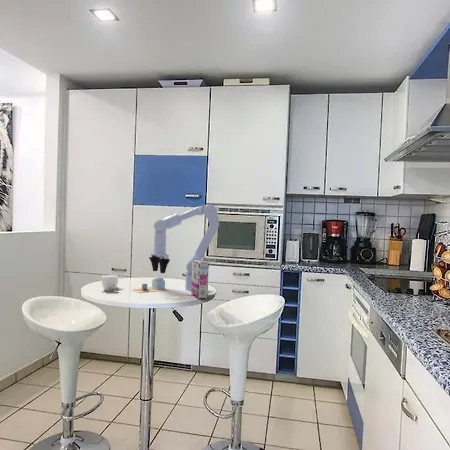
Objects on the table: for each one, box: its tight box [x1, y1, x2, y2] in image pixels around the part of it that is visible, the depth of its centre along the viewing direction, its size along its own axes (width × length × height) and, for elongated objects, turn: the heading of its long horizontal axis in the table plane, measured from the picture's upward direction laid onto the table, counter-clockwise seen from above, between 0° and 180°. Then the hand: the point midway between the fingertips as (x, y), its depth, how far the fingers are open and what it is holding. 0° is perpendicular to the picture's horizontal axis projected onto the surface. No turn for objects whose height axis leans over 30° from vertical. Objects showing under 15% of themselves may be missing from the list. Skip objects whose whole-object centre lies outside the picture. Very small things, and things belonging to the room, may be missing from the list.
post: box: [141, 283, 148, 291], centre depth 186 cm, size 4×4×3 cm
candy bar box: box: [190, 259, 210, 300], centre depth 181 cm, size 11×5×16 cm, turn 21°
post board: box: [129, 286, 169, 294], centre depth 189 cm, size 12×16×1 cm
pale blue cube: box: [151, 276, 166, 289], centre depth 193 cm, size 5×5×5 cm
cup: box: [101, 274, 119, 292], centre depth 190 cm, size 8×10×7 cm
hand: (158, 272), depth 193 cm, fingers open, 7 cm apart
